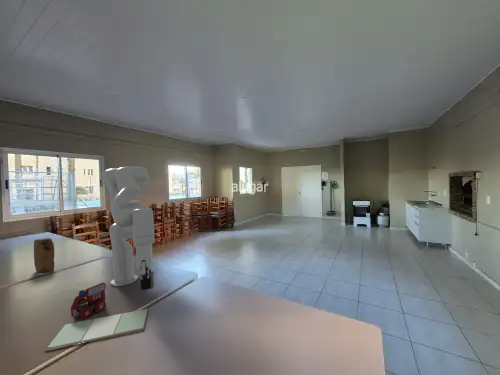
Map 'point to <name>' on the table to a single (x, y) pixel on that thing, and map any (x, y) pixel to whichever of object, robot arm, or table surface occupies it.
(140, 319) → the pale green flat board
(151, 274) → the die
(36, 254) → the block
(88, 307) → the toy fire truck
